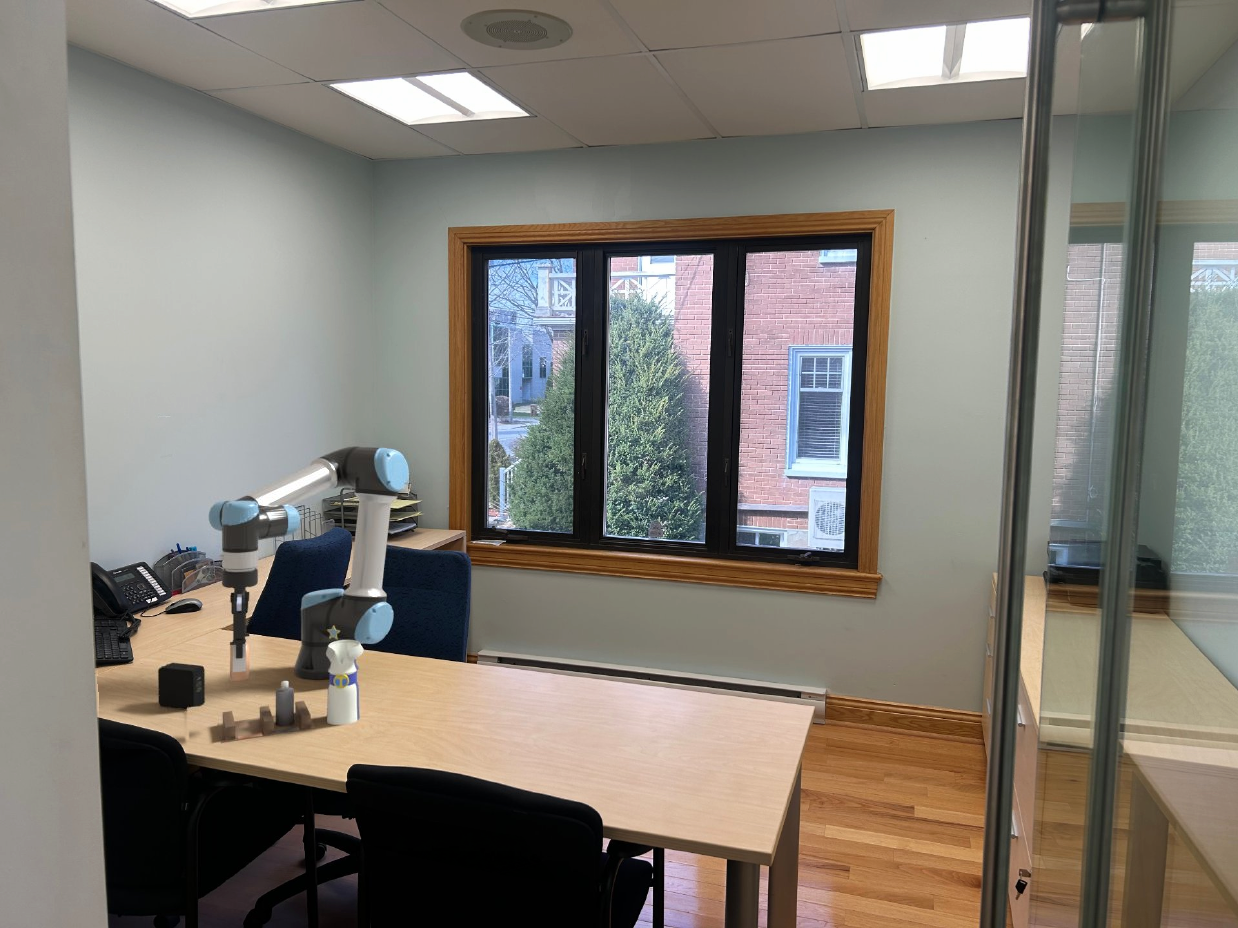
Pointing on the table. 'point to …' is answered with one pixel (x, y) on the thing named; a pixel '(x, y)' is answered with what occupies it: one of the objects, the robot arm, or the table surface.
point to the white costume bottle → (343, 680)
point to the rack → (263, 724)
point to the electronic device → (181, 685)
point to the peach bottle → (244, 674)
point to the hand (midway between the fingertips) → (239, 668)
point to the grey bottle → (284, 705)
